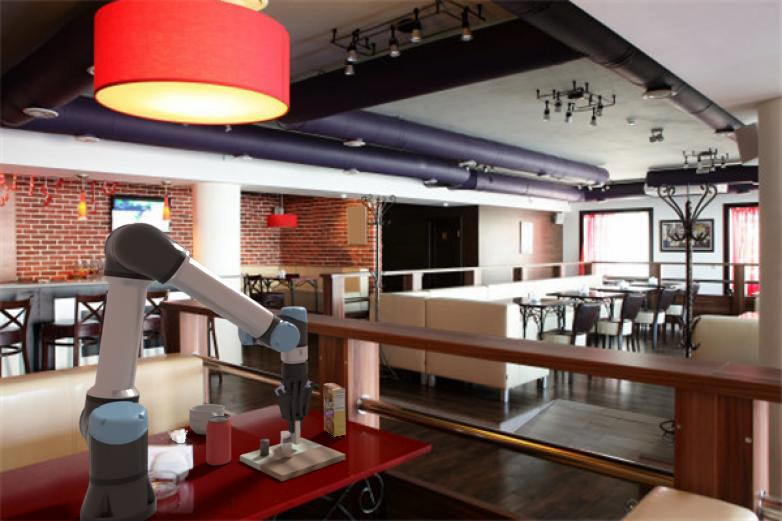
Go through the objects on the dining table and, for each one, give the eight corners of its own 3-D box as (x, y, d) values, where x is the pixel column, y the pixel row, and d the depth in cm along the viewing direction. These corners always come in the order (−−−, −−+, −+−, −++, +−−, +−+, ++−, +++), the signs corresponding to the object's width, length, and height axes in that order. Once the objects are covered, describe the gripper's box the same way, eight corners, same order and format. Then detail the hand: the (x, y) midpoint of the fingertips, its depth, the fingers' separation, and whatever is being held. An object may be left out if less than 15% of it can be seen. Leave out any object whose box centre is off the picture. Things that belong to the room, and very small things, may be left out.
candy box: (322, 430, 183) (322, 383, 183) (335, 428, 185) (335, 382, 185) (333, 438, 175) (333, 389, 175) (346, 436, 177) (346, 388, 177)
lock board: (282, 481, 142) (282, 459, 142) (240, 460, 156) (240, 440, 156) (345, 459, 157) (345, 439, 157) (301, 442, 171) (301, 424, 171)
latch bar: (291, 457, 154) (291, 440, 154) (282, 458, 154) (282, 440, 154) (290, 445, 164) (290, 428, 164) (280, 445, 164) (280, 429, 164)
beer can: (223, 467, 151) (223, 422, 151) (201, 465, 153) (201, 421, 153) (235, 458, 158) (235, 415, 158) (213, 456, 159) (213, 414, 159)
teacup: (187, 429, 184) (187, 404, 184) (222, 425, 189) (222, 401, 188) (192, 442, 171) (191, 416, 171) (228, 437, 176) (228, 411, 176)
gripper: (283, 365, 154) (284, 452, 155) (320, 359, 164) (321, 440, 164) (267, 362, 160) (268, 445, 160) (304, 356, 169) (305, 435, 169)
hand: (295, 443), depth 162 cm, fingers closed
